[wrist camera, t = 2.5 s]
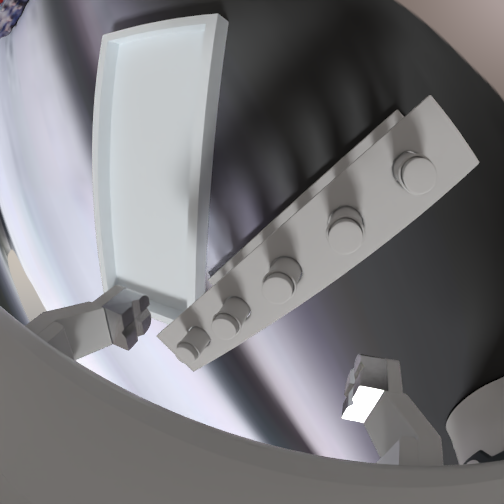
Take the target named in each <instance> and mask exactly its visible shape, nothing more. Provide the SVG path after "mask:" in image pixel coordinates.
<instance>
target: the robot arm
mask: <svg viewBox="0 0 504 504" xmlns="http://www.w3.org/2000/svg"><path fill="white" fill-rule="evenodd" d="M149 305H150V303H149V297H148V296H146V295H144V294H142V293H139V292H136V291H134V290H131V289H129V288H126V287H123V286H121V285H115V286H113V287H112V288H111V289H109V290H108V291H107V292H105V293H104V294H103V295H101V296H100V297H99V298H97V299H96V300H95V301H94V302H86V303H81V304H77V305H73V306H68V307H64V308H60V309H55V310H51V311H47V312H43V313H42V314H40V315H39V316H38V317H36V318H35V319H34V320H32V321H31V322H30V323H28V324H27V325H26V326H24V325H23V324H22V323H20V322H19V321H18V320H16V319H15V318H14V317H13V316H11V315H10V314H9V313H8V312H7V311H5V310H4V309H3V308H2V307H1V306H0V504H504V377H502V378H500V379H498V380H495V381H493V382H491V383H489V384H487V385H485V386H483V387H481V388H480V389H478V390H477V391H475V392H473V393H472V394H471V395H469V396H468V397H467V398H465V399H464V400H463V401H462V402H461V403H460V404H459V405H458V406H457V407H456V408H455V409H454V410H453V412H452V413H451V414H450V416H449V418H448V420H447V423H446V429H447V432H448V434H449V436H450V438H451V440H452V442H453V447H454V449H455V451H456V455H457V459H458V463H459V465H444V466H443V453H442V443H441V437H440V436H439V434H438V433H437V432H436V431H435V429H434V428H433V427H432V426H431V424H430V423H429V422H428V420H427V419H426V418H425V417H424V415H423V414H422V413H421V412H420V410H419V409H418V408H417V407H416V405H415V404H414V403H413V402H412V400H411V399H410V398H409V397H408V395H407V394H403V389H402V379H401V371H400V363H399V361H398V360H393V359H387V358H385V359H384V358H379V357H374V356H368V355H363V354H359V355H358V356H357V358H356V360H355V368H354V369H352V370H351V371H350V373H349V376H348V378H347V381H346V385H345V392H344V395H345V396H346V399H345V401H344V403H343V410H342V418H344V419H349V420H354V421H359V422H364V423H363V424H364V426H365V428H366V430H367V432H368V434H369V436H370V438H371V440H372V442H373V444H374V446H375V448H376V450H377V452H378V454H379V456H380V458H381V459H380V460H379V461H378V462H377V463H366V462H358V461H350V460H342V459H336V458H330V457H324V456H318V455H313V454H308V453H303V452H298V451H294V450H289V449H285V448H281V447H277V446H273V445H269V444H265V443H261V442H258V441H254V440H251V439H247V438H244V437H241V436H238V435H234V434H231V433H228V432H225V431H222V430H219V429H216V428H214V427H211V426H208V425H205V424H202V423H200V422H197V421H195V420H192V419H189V418H187V417H184V416H182V415H179V414H177V413H175V412H172V411H170V410H168V409H165V408H163V407H161V406H159V405H156V404H154V403H152V402H150V401H148V400H146V399H143V398H141V397H139V396H137V395H135V394H133V393H131V392H129V391H127V390H125V389H123V388H122V387H120V386H118V385H116V384H114V383H112V382H110V381H109V380H107V379H105V378H103V377H101V376H100V375H98V374H96V373H94V372H93V371H91V370H89V369H88V368H86V367H84V366H83V365H81V364H79V363H78V362H76V360H77V359H79V358H81V357H84V356H86V355H89V354H91V353H93V352H96V351H98V350H100V349H103V348H105V347H108V346H110V345H112V344H114V345H117V346H119V347H121V348H123V349H126V350H128V351H129V350H130V349H131V348H132V347H133V346H134V344H135V343H136V342H137V341H138V336H141V335H144V334H145V333H146V331H147V330H148V328H149V326H150V324H151V313H150V312H149V310H148V308H147V307H148V306H149Z"/></svg>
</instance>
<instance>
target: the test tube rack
mask: <svg viewBox="0 0 504 504" xmlns="http://www.w3.org/2000/svg"><path fill="white" fill-rule="evenodd" d="M478 164H479V161H478V159H477V158H476V156H475V155H474V153H473V151H472V150H471V148H470V147H469V145H468V144H467V142H466V141H465V139H464V138H463V137H462V135H461V134H460V132H459V131H458V129H457V128H456V127H455V125H454V124H453V123H452V121H451V120H450V119H449V117H448V116H447V115H446V113H445V112H444V111H443V110H442V108H441V107H440V106H439V105H438V103H437V102H436V101H435V100H434V98H433V97H432V96H431V95H429V96H428V97H426V98H425V99H424V100H423V101H422V102H421V103H420V104H418V105H417V106H416V107H415V108H414V109H413V110H412V111H410V112H409V113H408V114H407V115H406V116H405V117H404V116H403V115H402V114H401V113H400V111H399V110H396V111H394V112H393V113H392V114H391V115H390V116H389V117H387V118H386V119H385V120H384V121H383V122H382V123H381V124H380V125H378V126H377V127H376V128H375V129H374V130H373V131H372V132H371V133H369V134H368V135H367V136H366V137H365V138H364V139H363V140H362V141H360V142H359V143H358V144H357V145H356V146H355V147H354V148H353V149H351V150H350V151H349V152H348V153H347V154H346V155H345V156H344V157H342V158H341V159H340V160H339V161H338V162H337V163H336V164H335V165H334V166H332V167H331V168H330V169H329V170H328V171H327V172H326V173H325V174H323V175H322V176H321V177H320V178H319V179H318V180H317V181H316V182H315V183H313V184H312V185H311V186H310V187H309V188H308V189H307V190H306V191H305V192H303V193H302V194H301V195H300V196H299V197H298V198H297V199H296V200H295V201H293V202H292V203H291V204H290V205H289V206H288V207H287V208H286V209H285V210H284V211H282V212H281V213H280V214H279V215H278V216H277V217H276V218H275V219H274V220H272V221H271V222H270V223H269V224H268V225H267V226H266V227H265V228H264V229H263V230H261V231H260V232H259V233H258V234H257V235H256V236H255V237H254V238H253V239H252V240H250V241H249V242H248V243H247V244H246V245H245V246H244V247H243V248H242V249H241V250H239V251H238V252H237V253H236V254H235V255H234V256H233V257H232V258H231V259H230V260H229V261H227V262H226V263H225V264H224V265H223V266H222V267H221V268H220V269H219V270H218V271H216V272H215V273H214V274H213V275H212V276H211V277H210V278H209V279H208V281H209V282H210V283H211V284H212V285H213V286H212V287H211V288H210V289H209V290H208V291H206V292H205V293H204V294H203V295H202V296H201V297H200V298H198V299H197V300H196V301H195V302H194V303H193V304H192V305H191V306H189V307H188V308H187V309H186V310H185V311H184V312H183V313H181V314H180V315H179V316H178V317H177V318H176V319H175V320H174V321H172V322H171V323H170V324H169V325H168V326H167V327H166V328H165V329H163V330H162V331H161V332H160V333H159V334H158V335H157V337H158V338H159V339H160V340H161V341H162V342H163V343H164V344H165V345H166V346H167V347H168V348H169V349H170V350H171V351H172V352H173V353H174V354H175V355H176V357H177V359H178V360H179V361H181V362H182V363H185V364H186V365H187V366H188V367H189V368H190V369H191V370H192V371H193V372H194V371H196V370H197V369H199V368H201V367H203V366H204V365H206V364H208V363H209V362H211V361H213V360H214V359H216V358H218V357H219V356H221V355H223V354H224V353H226V352H228V351H229V350H231V349H233V348H234V347H236V346H238V345H239V344H241V343H242V342H244V341H246V340H247V339H249V338H250V337H252V336H253V335H255V334H257V333H258V332H260V331H261V330H263V329H264V328H266V327H268V326H269V325H271V324H272V323H274V322H275V321H277V320H278V319H280V318H281V317H283V316H284V315H286V314H287V313H289V312H290V311H292V310H293V309H295V308H296V307H298V306H299V305H301V304H302V303H304V302H305V301H307V300H308V299H309V298H311V297H312V296H314V295H315V294H317V293H318V292H319V291H321V290H322V289H324V288H325V287H327V286H328V285H329V284H331V283H332V282H334V281H335V280H336V279H338V278H339V277H341V276H342V275H343V274H345V273H346V272H347V271H349V270H350V269H351V268H353V267H354V266H356V265H357V264H358V263H360V262H361V261H362V260H364V259H365V258H366V257H368V256H369V255H370V254H372V253H373V252H374V251H375V250H377V249H378V248H379V247H381V246H382V245H383V244H385V243H386V242H387V241H388V240H390V239H391V238H392V237H393V236H395V235H396V234H397V233H399V232H400V231H401V230H402V229H404V228H405V227H406V226H407V225H408V224H410V223H411V222H412V221H413V220H415V219H416V218H417V217H418V216H420V215H421V214H422V213H423V212H424V211H426V210H427V209H428V208H429V207H430V206H431V205H433V204H434V203H435V202H436V201H437V200H439V199H440V198H441V197H442V196H443V195H444V194H445V193H447V192H448V191H449V190H450V189H451V188H452V187H453V186H455V185H456V184H457V183H458V182H459V181H460V180H461V179H462V178H464V177H465V176H466V175H467V174H468V173H469V172H470V171H471V170H472V169H473V168H474V167H476V166H477V165H478ZM397 181H399V182H400V184H401V185H402V186H401V185H400V184H399V183H398V182H397ZM361 216H362V217H361ZM362 218H363V223H364V226H363V224H362ZM301 272H302V276H301V278H300V275H301ZM299 278H300V279H299ZM250 311H251V313H250ZM249 313H250V315H249ZM248 315H249V316H248ZM247 316H248V317H247ZM191 327H192V328H191ZM190 328H191V329H190ZM189 329H190V331H189ZM210 340H211V341H210ZM209 342H210V343H209ZM208 343H209V344H208ZM207 344H208V345H207Z"/></svg>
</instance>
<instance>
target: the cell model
mask: <svg viewBox="0 0 504 504" xmlns="http://www.w3.org/2000/svg"><path fill="white" fill-rule="evenodd" d="M27 1H28V0H0V38H2V37H4V36H7V35H8V34H9V33H10V31H11V29H12V28H13V26H14V25H15V24H16V22H17V21H18V19H19V17H20V16H21V14H22V12H23V10H24V7H25V5H26V3H27Z"/></svg>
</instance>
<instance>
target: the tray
mask: <svg viewBox="0 0 504 504" xmlns="http://www.w3.org/2000/svg"><path fill="white" fill-rule="evenodd" d="M228 24H229V22H228V21H227V20H226V19H225V18H223V17H222V16H221V15H219V14H218V13H217V14H206V15H197V16H189V17H182V18H175V19H169V20H164V21H158V22H153V23H148V24H144V25H139V26H135V27H131V28H127V29H123V30H119V31H115V32H112V33H108V34H105V35H103V37H102V43H101V49H100V55H99V63H98V70H97V79H96V88H95V100H94V114H93V137H92V180H93V203H94V218H95V230H96V240H97V249H98V258H99V265H100V272H101V279H102V285H103V291H104V293H105V292H107V291H108V290H109V289H111V288H112V287H113V286H115V285H121V286H123V287H126V288H129V289H131V290H134V291H136V292H139V293H142V294H144V295H146V296H148V297H149V303H150V305H149V306H148V307H147V308H148V310H149V312H150V313H151V318H153V319H156V320H158V321H161V322H163V323H166V324H170V323H171V322H172V321H174V320H175V319H176V318H177V317H178V316H179V315H180V314H181V313H183V312H184V311H185V310H186V309H187V308H188V307H189V306H191V305H192V304H193V303H194V302H195V301H196V300H197V299H198V298H200V297H201V296H202V295H203V294H204V293H205V284H206V259H207V239H208V222H209V206H210V191H211V178H212V165H213V153H214V142H215V132H216V121H217V112H218V102H219V93H220V84H221V76H222V68H223V60H224V52H225V45H226V38H227V30H228ZM191 328H192V327H191ZM191 328H190V329H191ZM190 329H189V331H190Z"/></svg>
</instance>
